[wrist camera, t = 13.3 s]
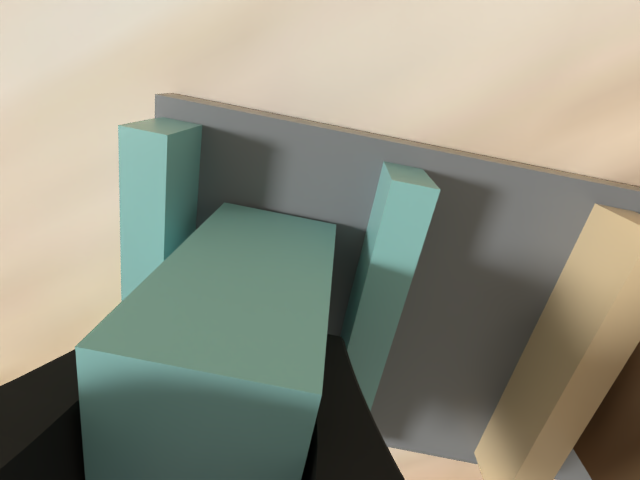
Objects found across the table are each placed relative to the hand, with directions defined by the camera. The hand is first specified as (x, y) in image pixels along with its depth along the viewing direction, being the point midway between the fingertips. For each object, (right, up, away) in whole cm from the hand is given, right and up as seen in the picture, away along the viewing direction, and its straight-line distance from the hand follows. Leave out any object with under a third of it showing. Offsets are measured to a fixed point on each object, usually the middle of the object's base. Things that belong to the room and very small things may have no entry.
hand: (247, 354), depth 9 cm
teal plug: (0, +1, +2) cm, 2 cm away
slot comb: (+6, 0, +3) cm, 7 cm away
